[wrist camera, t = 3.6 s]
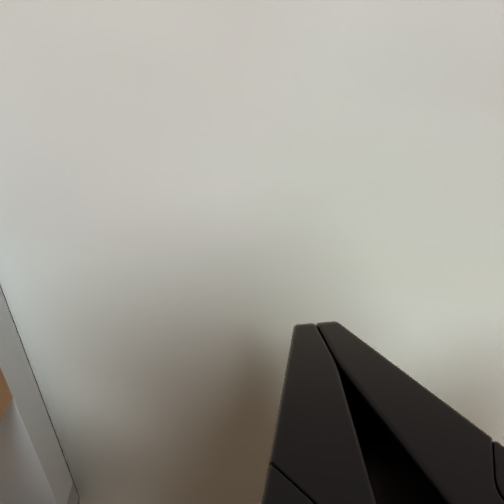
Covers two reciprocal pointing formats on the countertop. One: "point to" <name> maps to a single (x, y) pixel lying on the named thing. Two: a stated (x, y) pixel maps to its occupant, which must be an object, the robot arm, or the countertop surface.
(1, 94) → the countertop surface
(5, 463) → the board
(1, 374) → the walnut block
